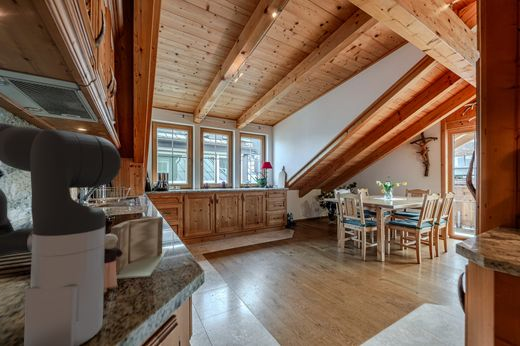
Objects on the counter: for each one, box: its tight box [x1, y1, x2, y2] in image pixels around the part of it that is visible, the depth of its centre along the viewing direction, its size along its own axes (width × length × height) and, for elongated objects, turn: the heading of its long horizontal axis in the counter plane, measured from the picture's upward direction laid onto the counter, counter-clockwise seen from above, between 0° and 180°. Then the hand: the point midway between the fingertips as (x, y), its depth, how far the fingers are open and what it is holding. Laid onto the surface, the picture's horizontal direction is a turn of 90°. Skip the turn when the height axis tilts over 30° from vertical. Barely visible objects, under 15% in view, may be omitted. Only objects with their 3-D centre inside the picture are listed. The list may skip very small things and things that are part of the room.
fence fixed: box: [110, 221, 130, 276], centre depth 62 cm, size 8×2×12 cm, turn 10°
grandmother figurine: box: [103, 233, 124, 294], centre depth 53 cm, size 8×4×13 cm, turn 168°
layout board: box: [116, 247, 170, 280], centre depth 69 cm, size 23×12×1 cm, turn 10°
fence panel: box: [124, 216, 164, 262], centre depth 71 cm, size 11×2×12 cm, turn 138°
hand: (115, 237), depth 72 cm, fingers closed
